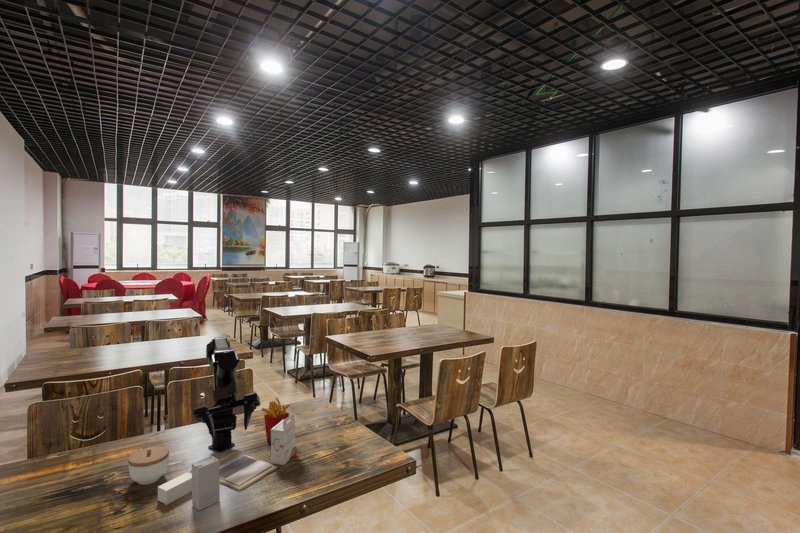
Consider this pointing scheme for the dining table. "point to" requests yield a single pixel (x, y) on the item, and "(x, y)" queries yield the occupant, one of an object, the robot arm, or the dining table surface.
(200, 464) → the skincare box
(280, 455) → the ink cartridge box
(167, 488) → the tall cream pillar
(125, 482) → the dining table surface
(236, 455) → the picture frame
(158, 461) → the lidded jar
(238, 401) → the robot arm
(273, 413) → the french fries
